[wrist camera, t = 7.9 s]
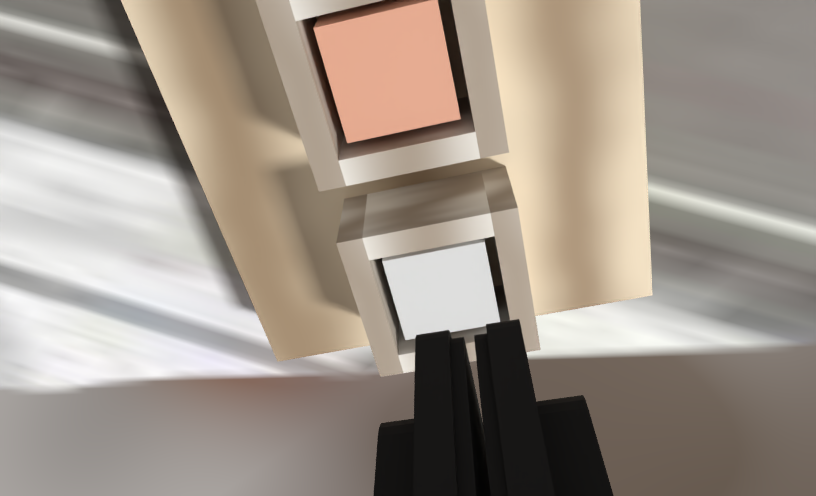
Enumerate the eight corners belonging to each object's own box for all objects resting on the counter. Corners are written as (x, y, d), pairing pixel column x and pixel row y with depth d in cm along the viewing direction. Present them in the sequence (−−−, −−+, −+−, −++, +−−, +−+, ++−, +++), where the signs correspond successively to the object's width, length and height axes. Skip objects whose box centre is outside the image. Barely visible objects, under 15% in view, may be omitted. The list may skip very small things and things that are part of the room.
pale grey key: (477, 204, 28) (484, 241, 25) (492, 281, 30) (500, 323, 27) (384, 223, 28) (382, 261, 26) (405, 297, 30) (405, 340, 28)
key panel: (609, -155, 24) (671, -152, 18) (633, 259, 33) (679, 346, 27) (141, -34, 26) (66, 1, 20) (287, 323, 35) (264, 415, 29)
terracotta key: (434, -19, 23) (437, -2, 20) (455, 90, 25) (460, 119, 23) (323, 7, 24) (313, 28, 21) (353, 113, 26) (347, 143, 23)
